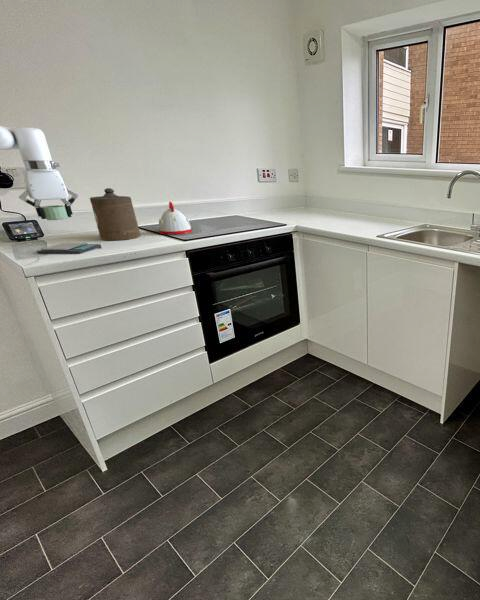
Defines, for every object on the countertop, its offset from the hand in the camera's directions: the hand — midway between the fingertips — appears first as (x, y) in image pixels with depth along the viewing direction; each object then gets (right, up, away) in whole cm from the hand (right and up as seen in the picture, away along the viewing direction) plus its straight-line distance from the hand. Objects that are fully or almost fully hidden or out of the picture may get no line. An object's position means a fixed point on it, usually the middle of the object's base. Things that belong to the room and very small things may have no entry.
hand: (56, 217), depth 130 cm
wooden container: (-3, -2, +34) cm, 34 cm away
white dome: (+13, +4, +49) cm, 51 cm away
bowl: (0, -1, 0) cm, 1 cm away
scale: (+1, -13, +5) cm, 14 cm away
